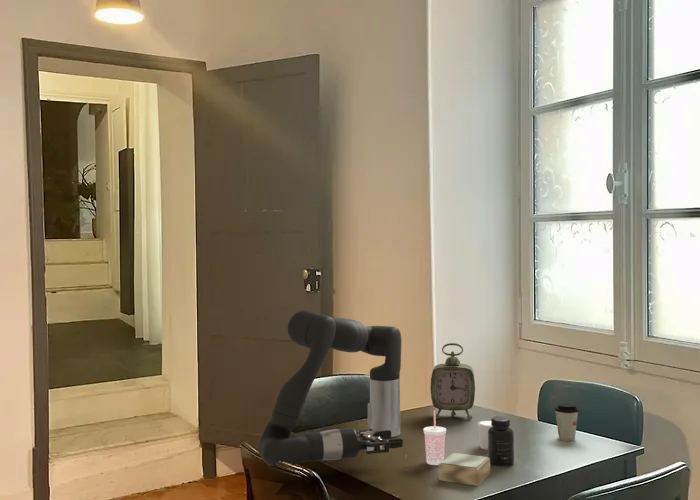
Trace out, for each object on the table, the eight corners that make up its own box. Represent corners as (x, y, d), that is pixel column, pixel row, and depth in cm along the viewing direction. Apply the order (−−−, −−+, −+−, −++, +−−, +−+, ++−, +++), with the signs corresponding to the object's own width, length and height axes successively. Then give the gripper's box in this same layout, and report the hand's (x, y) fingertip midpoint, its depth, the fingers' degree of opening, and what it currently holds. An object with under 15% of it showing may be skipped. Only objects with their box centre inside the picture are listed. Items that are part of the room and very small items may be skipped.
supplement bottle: (485, 459, 196) (484, 415, 196) (509, 458, 197) (509, 414, 197) (492, 467, 190) (491, 421, 189) (517, 466, 190) (517, 420, 190)
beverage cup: (419, 463, 194) (418, 411, 193) (430, 457, 199) (429, 406, 199) (440, 467, 190) (439, 414, 190) (450, 461, 195) (450, 409, 195)
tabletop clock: (430, 420, 239) (429, 344, 239) (432, 413, 248) (431, 341, 248) (475, 421, 237) (474, 345, 237) (475, 414, 246) (474, 341, 246)
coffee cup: (553, 440, 214) (552, 406, 214) (556, 434, 220) (555, 401, 220) (578, 442, 211) (577, 408, 211) (580, 436, 217) (579, 403, 217)
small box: (439, 480, 180) (438, 462, 180) (452, 468, 189) (452, 452, 189) (477, 485, 176) (477, 468, 176) (490, 473, 184) (489, 457, 184)
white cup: (502, 451, 204) (501, 426, 204) (477, 450, 205) (477, 425, 205) (502, 444, 211) (501, 420, 211) (478, 443, 212) (477, 419, 212)
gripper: (345, 436, 179) (406, 430, 184) (329, 423, 193) (386, 417, 198) (345, 466, 180) (406, 460, 184) (330, 451, 193) (387, 445, 198)
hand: (396, 438), depth 191 cm, fingers open, 8 cm apart
